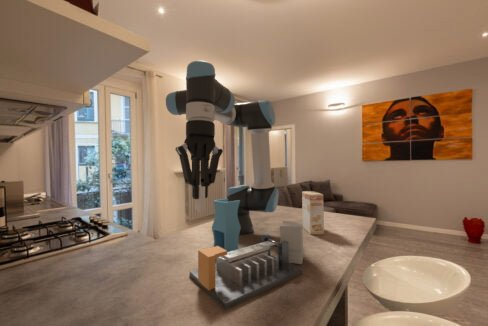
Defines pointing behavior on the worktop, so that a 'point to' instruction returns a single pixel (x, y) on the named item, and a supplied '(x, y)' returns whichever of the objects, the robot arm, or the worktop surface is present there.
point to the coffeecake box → (313, 212)
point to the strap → (250, 250)
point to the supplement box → (293, 240)
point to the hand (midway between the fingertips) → (199, 211)
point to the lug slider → (208, 265)
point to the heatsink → (249, 275)
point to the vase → (226, 224)
